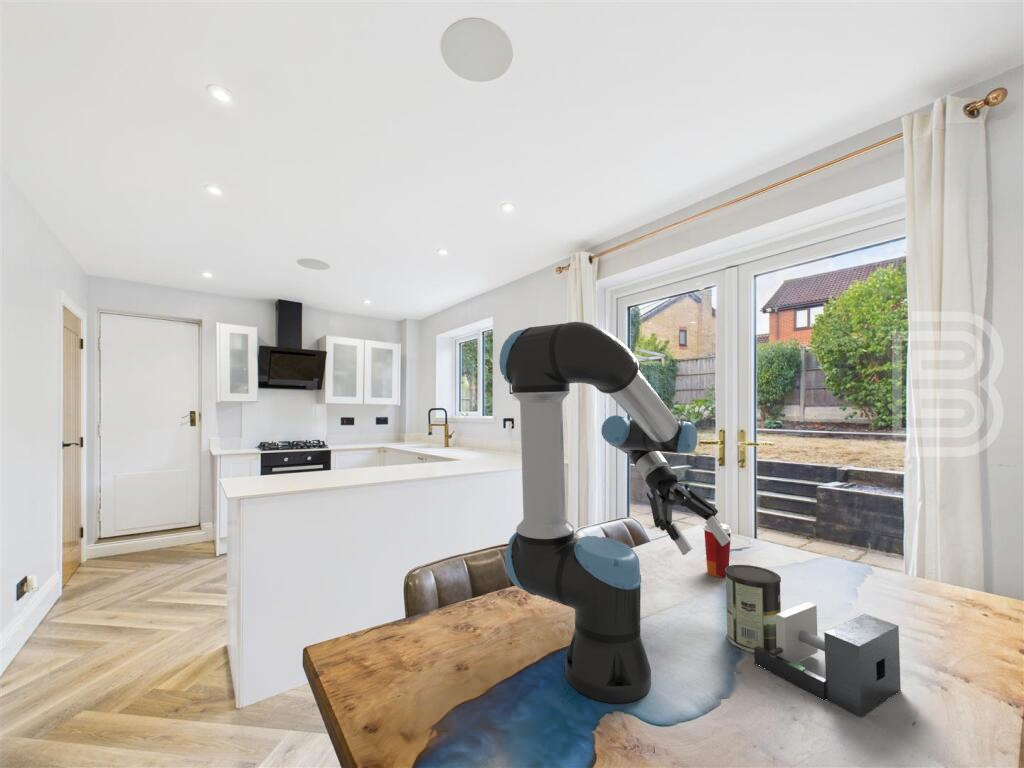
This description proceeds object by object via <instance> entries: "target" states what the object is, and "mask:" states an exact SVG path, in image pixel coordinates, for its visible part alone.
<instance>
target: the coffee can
mask: <svg viewBox="0 0 1024 768" xmlns="http://www.w3.org/2000/svg"><path fill="white" fill-rule="evenodd" d="M725 573H726V577H725V591H726V592H725V594H726V595H725V597H726V602H725V603H726V638H727V640H728V642H729V643H730V644H732V645H734V646H735V647H736V646H737V648H738V647H739V649H740V648H741V649H740V650H743V651H745V650H746V651H745V652H748V651H749V653H751V652H753V653H752V654H754V648H755V647H757V646H759V647H761V648H763V649H765V650H767V651H771V650H773V649H776V648H777V645H776V614H778V613H780V612H782V608H781V607H782V605H781V603H782V602H781V582H782V579H781V575H779V574H778V573H776V572H774V571H773V570H769V569H768V568H764V567H760V566H757V565H750V564H731V565H729V566H728V567H726V568H725Z"/></svg>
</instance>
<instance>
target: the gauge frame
mask: <svg viewBox="0 0 1024 768" xmlns="http://www.w3.org/2000/svg"><path fill="white" fill-rule="evenodd" d="M899 628H900V627H899V625H898V624H895V623H892V622H889V621H887V620H884V619H880V618H877V617H875V616H872V615H869V614H866V613H864V614H861V615H859V616H857V617H855V618H853V619H850V620H848V621H845V622H843V623H841V624H839V625H837V626H835V627H833V628H831V629H828V630H826V631H824V633H823V634H824V639H825V652H824V666H825V668H824V670H825V671H824V673H825V675H824V676H825V678H824V677H823V676H820V675H818V674H816V673H814V672H811V671H809V669H808V670H807V667H804V666H802V665H800V664H798V663H794V662H790V661H788V660H786V659H783V658H781V657H779V656H777V655H776V656H771V655H770V654H769V651H767V650H765V649H763V648H761V647H759V646H757V647H755V648H754V653H753V654H754V665H756V664H757V665H756V666H758V665H760V666H761V667H763V668H765V669H766V670H765V669H764V670H765V671H767V670H768V671H767V672H769V671H770V672H769V673H771V674H773V675H775V676H777V677H778V676H779V677H778V678H780V679H782V680H784V681H786V682H788V683H790V684H792V685H794V686H796V687H798V688H799V689H801V690H804V691H805V692H807V693H808V694H810V693H811V694H810V695H812V694H813V696H814V695H815V696H814V697H816V696H817V697H816V698H818V697H819V698H818V699H820V698H821V699H820V700H822V699H823V700H822V701H824V700H825V701H828V702H830V703H832V704H833V703H834V705H835V704H836V706H837V707H839V708H842V709H843V710H845V711H847V712H849V713H851V714H853V715H854V716H857V717H858V718H861V719H862V718H864V717H865V716H866V715H868V714H869V713H871V712H872V711H873V710H875V709H876V707H877V708H878V707H880V706H881V705H882V704H884V703H885V702H887V701H888V700H889V699H888V698H890V697H891V698H892V696H893V695H894V696H896V695H897V694H899V693H900V692H901V691H902V690H901V689H902V688H901V661H900V659H901V657H900V634H899V633H900V629H899ZM760 666H759V667H760ZM761 667H760V668H761ZM763 668H762V669H763ZM899 691H900V692H899ZM896 693H897V694H896ZM894 696H893V697H894ZM891 698H890V699H891ZM826 699H827V700H826ZM887 699H888V700H887ZM886 700H887V701H886ZM883 702H884V703H883ZM880 704H881V705H880Z"/></svg>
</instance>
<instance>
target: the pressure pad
mask: <svg viewBox="0 0 1024 768" xmlns="http://www.w3.org/2000/svg"><path fill="white" fill-rule="evenodd" d="M776 645H777V648H776V649H773V650H771V651H769V654H770V655H771V656H776V655H777V656H779V657H781V658H783V659H786V660H788V661H790V662H794V663H796V664H798V662H801V661H803V660H805V659H807V658H810V656H812V655H815V654H817V653H819V651H818V650H820V651H822V652H824V653H825V638H823V637H820V636H818V608H817V604H814V603H811V602H809V601H807V602H804V603H802V604H799V605H796V606H794V607H791V608H788V609H785V610H783V611H781V612H780V613H778V614H776Z"/></svg>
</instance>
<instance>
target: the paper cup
mask: <svg viewBox="0 0 1024 768" xmlns="http://www.w3.org/2000/svg"><path fill="white" fill-rule="evenodd" d="M719 523H720V524H721V526H722V528H723V529H724V531H725V532H726V533H727V535H728V536H729V538H730V539H731V535H732V534H731V533H732V529H731V526H730V525H728V524H727V523H726V524H725V523H721V522H719ZM702 530H703V531H704V545H705V560H706V569H707V574H708V575H709V576H712V577H715V576H716V577H715V578H726V573H725V568H726V567H728V566H730V552H731V540H730V541H729V542H728V543H727V544H725V545H724V546H721V544H720V543H719V541H718V540H717V538H716V537H715V536H714V534H713V533H712V531H711V530H710V529H709V527H708V526H707V524H706V523H705V524H704V525H703V527H702Z"/></svg>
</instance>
